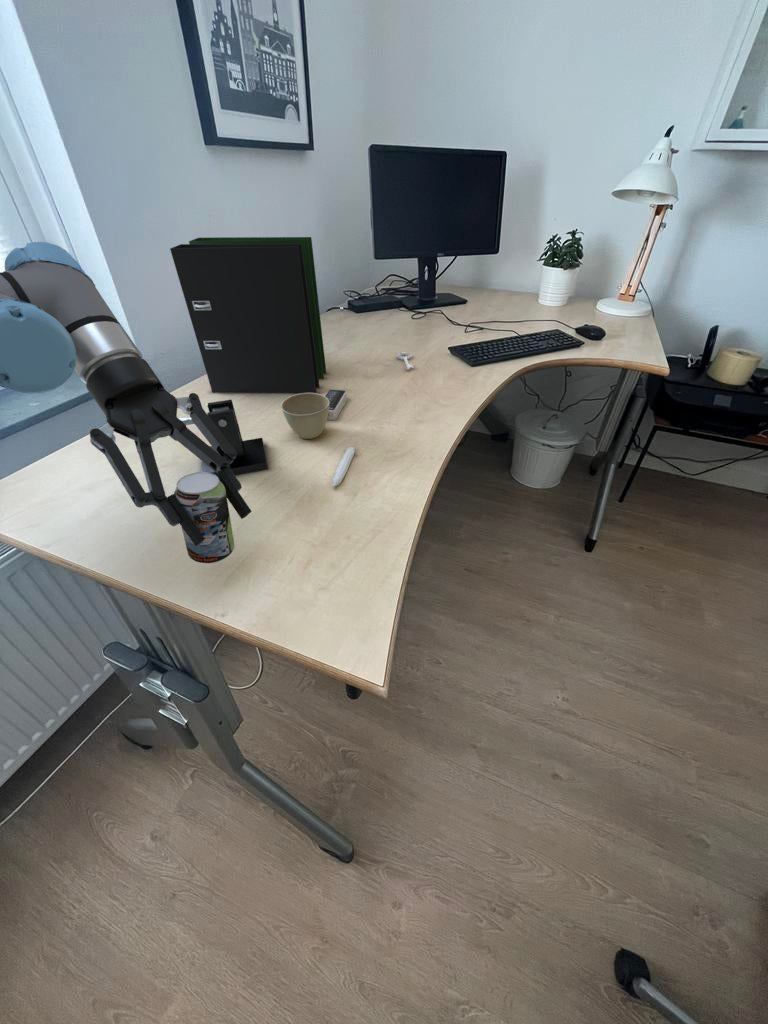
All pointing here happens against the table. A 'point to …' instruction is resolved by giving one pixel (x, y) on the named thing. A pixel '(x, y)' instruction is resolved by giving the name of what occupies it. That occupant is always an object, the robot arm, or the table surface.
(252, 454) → the bracket
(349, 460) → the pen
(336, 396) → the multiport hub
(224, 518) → the beverage can
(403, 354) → the key
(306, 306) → the binder
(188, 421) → the lever
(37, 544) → the table surface
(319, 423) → the flower pot
